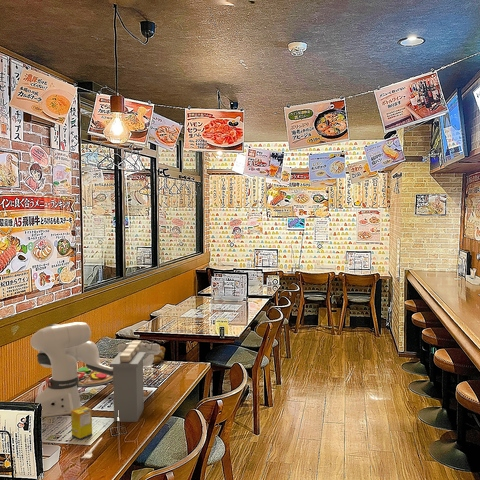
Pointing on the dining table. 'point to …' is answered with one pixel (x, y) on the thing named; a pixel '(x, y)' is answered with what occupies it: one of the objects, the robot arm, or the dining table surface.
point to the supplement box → (81, 422)
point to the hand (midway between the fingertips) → (136, 344)
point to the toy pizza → (92, 377)
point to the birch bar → (130, 351)
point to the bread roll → (159, 355)
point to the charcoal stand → (128, 387)
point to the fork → (89, 453)
